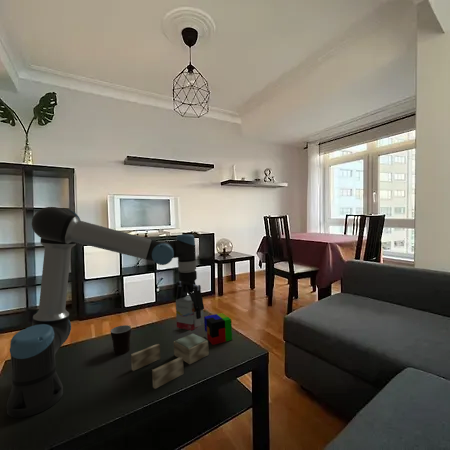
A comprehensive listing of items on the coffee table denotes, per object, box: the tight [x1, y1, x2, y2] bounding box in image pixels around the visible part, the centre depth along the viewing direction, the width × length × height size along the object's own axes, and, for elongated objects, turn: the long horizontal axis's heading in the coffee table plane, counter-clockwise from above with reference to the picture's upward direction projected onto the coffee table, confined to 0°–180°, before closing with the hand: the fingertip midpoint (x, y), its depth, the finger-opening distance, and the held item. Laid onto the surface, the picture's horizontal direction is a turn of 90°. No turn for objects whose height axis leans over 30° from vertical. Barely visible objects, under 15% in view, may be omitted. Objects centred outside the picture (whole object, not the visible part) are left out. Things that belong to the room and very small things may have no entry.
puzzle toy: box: [203, 312, 233, 346], centre depth 129 cm, size 10×10×10 cm
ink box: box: [175, 294, 204, 331], centre depth 114 cm, size 9×9×12 cm
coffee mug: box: [110, 324, 132, 356], centre depth 122 cm, size 12×9×10 cm
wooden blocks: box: [130, 333, 209, 390], centre depth 108 cm, size 28×18×6 cm, turn 134°
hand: (190, 322), depth 114 cm, fingers closed on ink box, 10 cm apart
